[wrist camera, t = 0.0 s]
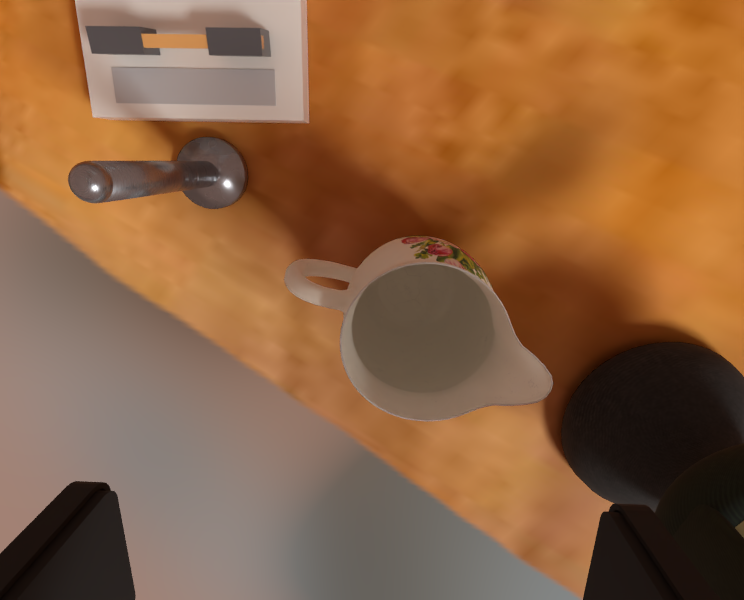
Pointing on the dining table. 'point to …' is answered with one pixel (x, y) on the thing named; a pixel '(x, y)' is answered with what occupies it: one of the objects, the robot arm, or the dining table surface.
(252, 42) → the square dumbbell
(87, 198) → the rod
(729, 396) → the flowering cactus
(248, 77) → the panel
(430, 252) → the pitcher
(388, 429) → the dining table surface
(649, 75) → the dining table surface
